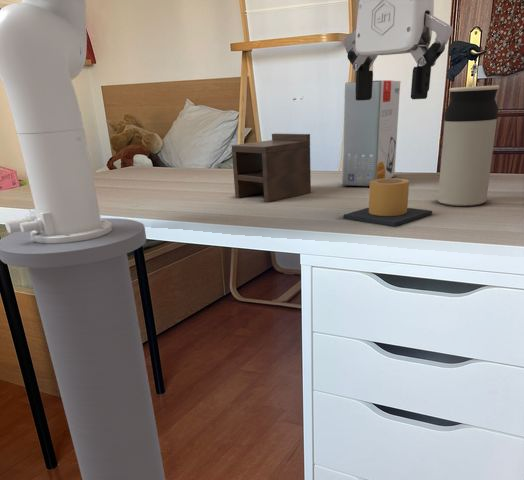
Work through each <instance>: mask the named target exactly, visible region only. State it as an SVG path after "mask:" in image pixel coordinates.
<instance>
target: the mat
mask: <svg viewBox="0 0 524 480" xmlns="http://www.w3.org/2000/svg"><path fill="white" fill-rule="evenodd" d="M430 215H433V210H429V209H421V208H415V207H414V208H413V207H407V213H406V214H403V215H398V216H376V215H372V214H370V213H369V207H366V208H362V209H358V210H356V211H352V212H351V211H350V212H348V213H344V214H343V215H342V219H346V220H352V221H358V222H364V223H372V224H378V225H384V226H389V227H397V226H400V225H404V224H406V223H410V222H413V221H416V220H419V219H422V218H425V217H427V216H430Z"/></svg>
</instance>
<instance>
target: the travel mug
mask: <svg viewBox="0 0 524 480" xmlns="http://www.w3.org/2000/svg"><path fill="white" fill-rule="evenodd" d="M499 89H500V85H498V84H497V85H478V86H462V87H449V89H448V91H449V93H450V102H449V104H448V106H447V108H446V109H445V113H444V123H443V136H442V146H441V157H440V171H439V181H438V191H437V202H439V203H440V204H442V205H445V206H451V207H473V206H479V205H482V204H484V203H486V202H487V199H488V193H489V183H490V176H491V170H492V169H491V168H492V162H493V161H492V160H493V153H494V145H495V138H496V130H497V122H498V115H499V114H498V113H499V107H498V104H497V101H496V95H497V92H498V90H499Z"/></svg>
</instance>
